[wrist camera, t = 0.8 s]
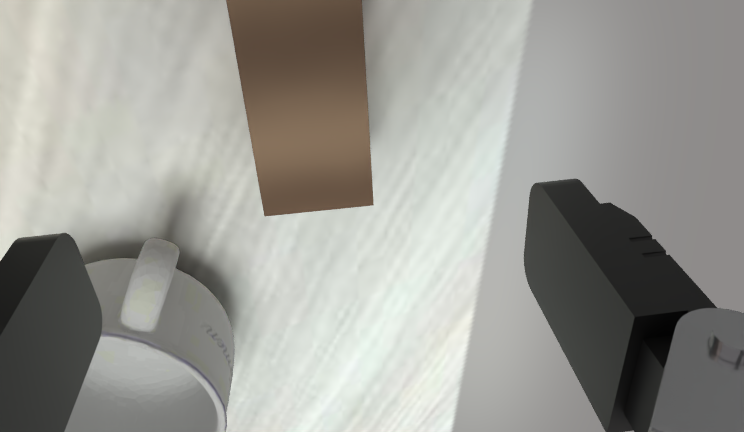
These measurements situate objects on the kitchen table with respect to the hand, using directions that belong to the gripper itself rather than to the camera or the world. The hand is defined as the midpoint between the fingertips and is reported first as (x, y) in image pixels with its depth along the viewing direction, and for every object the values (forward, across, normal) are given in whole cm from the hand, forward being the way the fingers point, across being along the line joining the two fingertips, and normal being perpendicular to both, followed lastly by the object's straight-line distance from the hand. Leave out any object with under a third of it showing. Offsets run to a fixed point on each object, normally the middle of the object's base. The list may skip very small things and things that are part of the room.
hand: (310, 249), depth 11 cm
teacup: (+18, +10, +14) cm, 25 cm away
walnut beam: (+18, 0, 0) cm, 18 cm away
